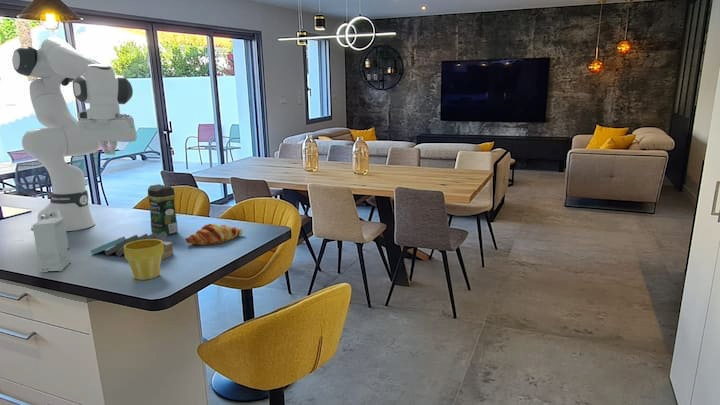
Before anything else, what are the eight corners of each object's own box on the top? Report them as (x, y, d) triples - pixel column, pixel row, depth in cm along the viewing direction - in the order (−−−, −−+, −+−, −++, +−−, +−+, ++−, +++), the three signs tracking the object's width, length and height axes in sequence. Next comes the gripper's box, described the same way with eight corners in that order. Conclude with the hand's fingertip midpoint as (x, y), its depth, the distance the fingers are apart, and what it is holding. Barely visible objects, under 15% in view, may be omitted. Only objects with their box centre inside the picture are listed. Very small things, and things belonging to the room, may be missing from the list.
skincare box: (61, 271, 139) (54, 223, 136) (38, 273, 137) (31, 224, 134) (71, 262, 147) (65, 216, 144) (50, 263, 145) (43, 217, 142)
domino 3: (115, 252, 152) (136, 238, 149) (126, 248, 156) (146, 233, 154) (118, 257, 152) (139, 242, 149) (128, 252, 157) (149, 237, 154)
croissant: (239, 242, 179) (234, 222, 180) (250, 236, 171) (244, 215, 173) (184, 253, 165) (178, 231, 166) (193, 246, 158) (188, 223, 159)
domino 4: (126, 253, 151) (145, 236, 148) (136, 249, 156) (155, 232, 153) (129, 257, 151) (148, 240, 148) (139, 252, 156) (158, 236, 153)
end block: (147, 261, 148) (145, 249, 147) (162, 253, 156) (161, 241, 155) (158, 262, 147) (157, 249, 146) (173, 253, 155) (172, 242, 154)
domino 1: (90, 250, 153) (113, 240, 151) (101, 245, 158) (124, 236, 156) (92, 254, 154) (115, 245, 151) (103, 250, 158) (126, 240, 156)
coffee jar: (147, 233, 178) (143, 185, 174) (166, 228, 184) (162, 182, 180) (162, 237, 172) (157, 188, 168) (181, 232, 179) (177, 185, 175)
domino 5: (135, 252, 150) (155, 235, 147) (145, 247, 155) (164, 231, 152) (138, 256, 150) (158, 239, 147) (148, 251, 155) (167, 235, 152)
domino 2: (104, 251, 152) (126, 239, 150) (115, 247, 157) (136, 234, 154) (107, 256, 153) (129, 243, 150) (117, 251, 157) (139, 238, 155)
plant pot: (135, 269, 141) (132, 238, 139) (171, 269, 141) (168, 238, 139) (120, 283, 131) (116, 249, 129) (158, 282, 131) (155, 249, 129)
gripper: (138, 113, 160) (142, 154, 163) (86, 113, 164) (91, 152, 167) (126, 114, 154) (130, 156, 157) (72, 113, 158) (77, 154, 161)
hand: (110, 154), depth 162 cm, fingers closed
